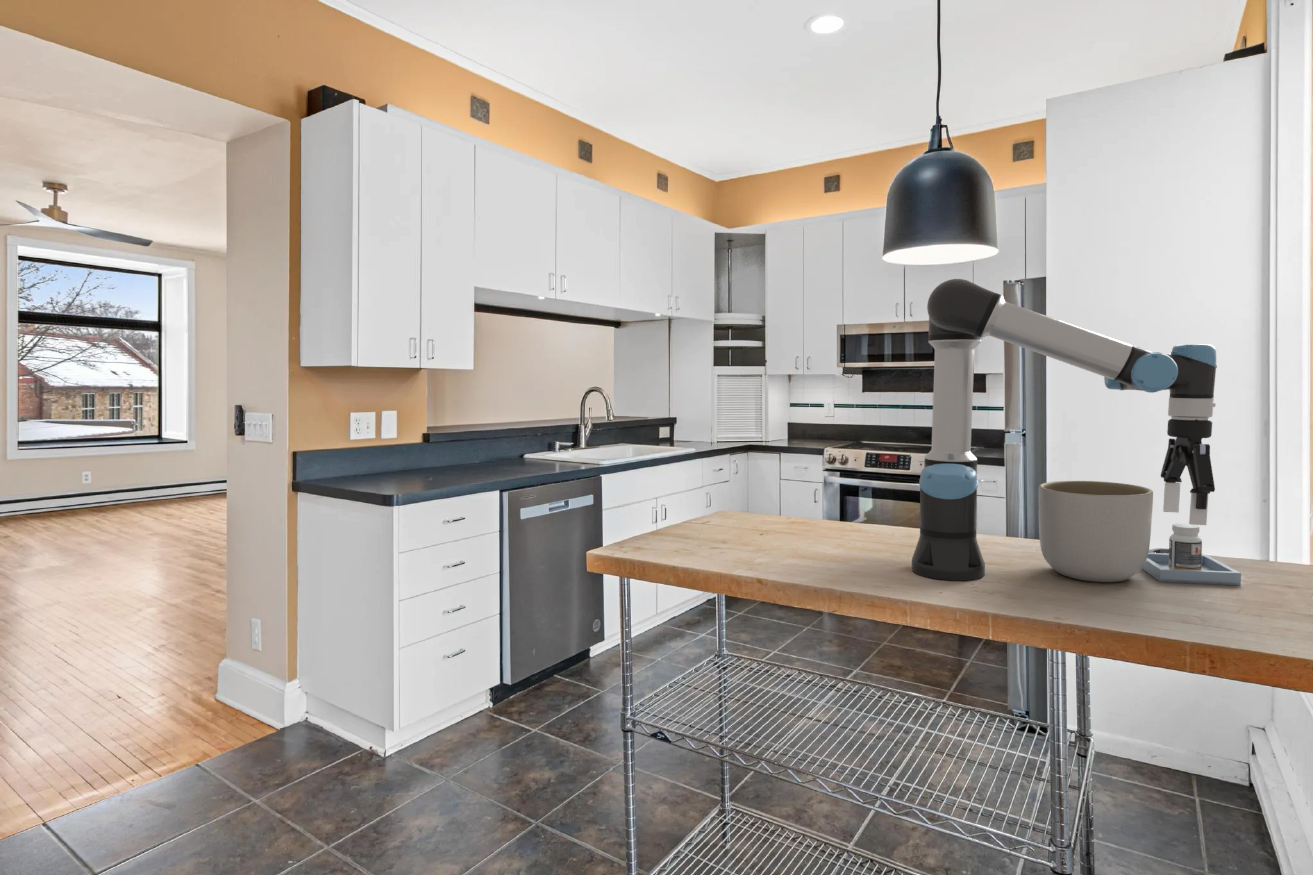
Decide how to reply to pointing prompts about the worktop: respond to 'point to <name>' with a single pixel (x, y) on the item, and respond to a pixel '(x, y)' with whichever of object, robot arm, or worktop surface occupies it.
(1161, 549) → the ring
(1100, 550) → the planter
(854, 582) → the worktop surface
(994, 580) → the worktop surface
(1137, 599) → the worktop surface
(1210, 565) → the tray
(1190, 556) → the pill bottle
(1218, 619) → the worktop surface
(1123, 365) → the robot arm
